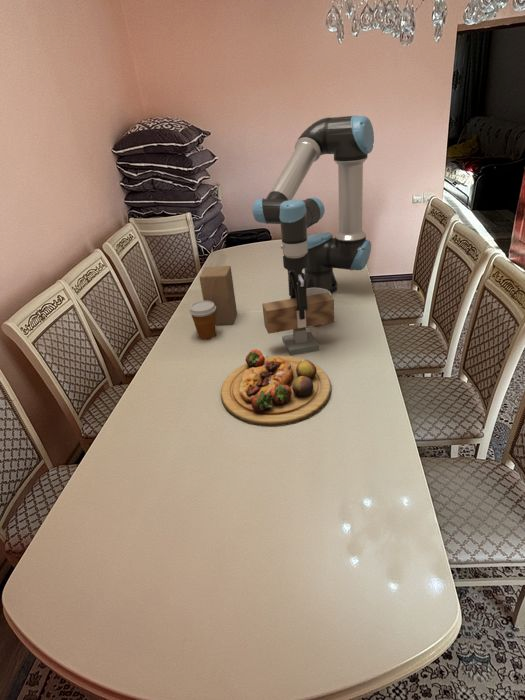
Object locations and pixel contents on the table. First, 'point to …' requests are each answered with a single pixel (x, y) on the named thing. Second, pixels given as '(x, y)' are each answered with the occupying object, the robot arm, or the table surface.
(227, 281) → the wooden block
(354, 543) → the table surface
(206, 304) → the disposable coffee cup
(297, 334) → the pedestal
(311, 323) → the walnut beam
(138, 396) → the table surface
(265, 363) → the wooden plate with food
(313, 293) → the plastic cup
